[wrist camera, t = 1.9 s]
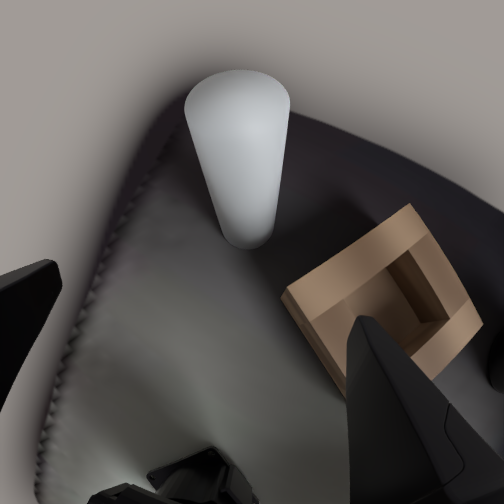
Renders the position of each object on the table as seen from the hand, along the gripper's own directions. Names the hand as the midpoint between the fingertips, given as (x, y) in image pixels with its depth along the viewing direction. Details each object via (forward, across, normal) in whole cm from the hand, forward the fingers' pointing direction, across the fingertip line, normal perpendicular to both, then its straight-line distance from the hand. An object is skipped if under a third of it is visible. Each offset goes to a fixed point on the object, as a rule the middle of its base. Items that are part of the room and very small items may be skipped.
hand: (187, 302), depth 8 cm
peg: (+15, 0, +4) cm, 15 cm away
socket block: (+11, -10, +8) cm, 17 cm away
